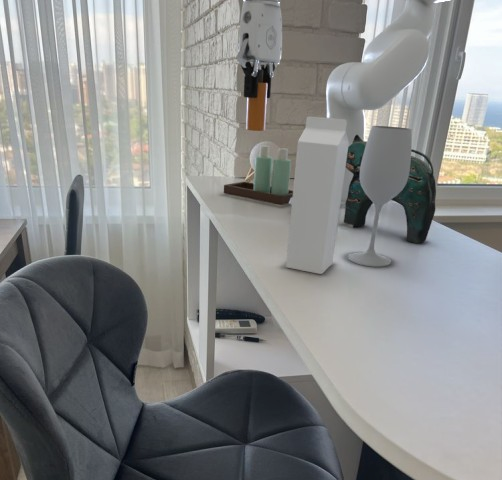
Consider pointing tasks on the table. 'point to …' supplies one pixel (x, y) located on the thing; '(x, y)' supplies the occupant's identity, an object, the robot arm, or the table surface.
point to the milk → (317, 194)
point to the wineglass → (383, 178)
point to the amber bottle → (257, 106)
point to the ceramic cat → (411, 197)
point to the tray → (256, 193)
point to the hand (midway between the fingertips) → (257, 96)
